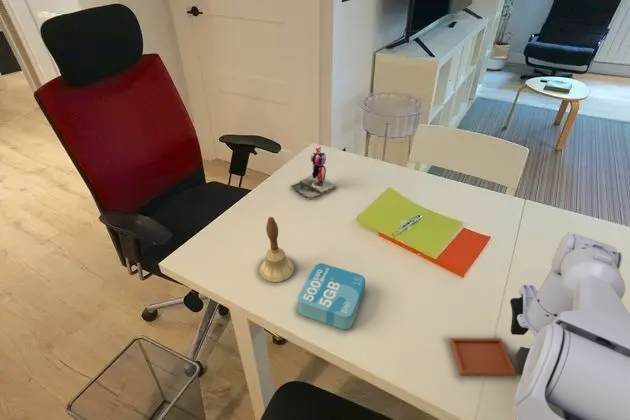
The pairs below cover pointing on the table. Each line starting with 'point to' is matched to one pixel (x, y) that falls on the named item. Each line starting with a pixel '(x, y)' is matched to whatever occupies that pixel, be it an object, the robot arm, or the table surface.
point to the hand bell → (275, 258)
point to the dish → (481, 356)
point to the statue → (315, 177)
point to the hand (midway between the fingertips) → (525, 352)
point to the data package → (332, 295)
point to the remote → (522, 358)
